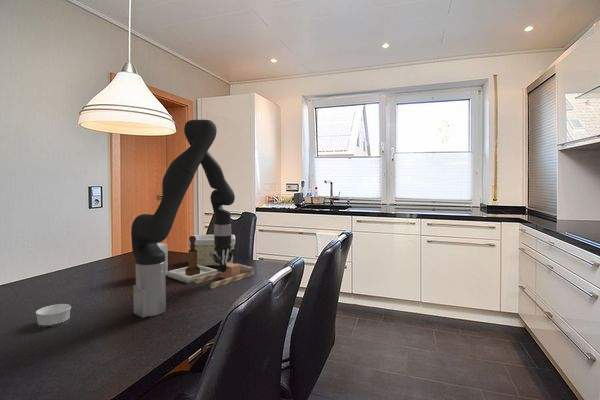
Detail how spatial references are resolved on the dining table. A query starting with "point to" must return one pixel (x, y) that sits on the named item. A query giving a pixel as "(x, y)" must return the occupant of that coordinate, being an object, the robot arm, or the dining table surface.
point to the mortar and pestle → (192, 259)
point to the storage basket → (207, 249)
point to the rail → (244, 273)
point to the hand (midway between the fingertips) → (222, 271)
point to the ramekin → (53, 314)
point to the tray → (181, 276)
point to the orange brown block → (231, 270)
